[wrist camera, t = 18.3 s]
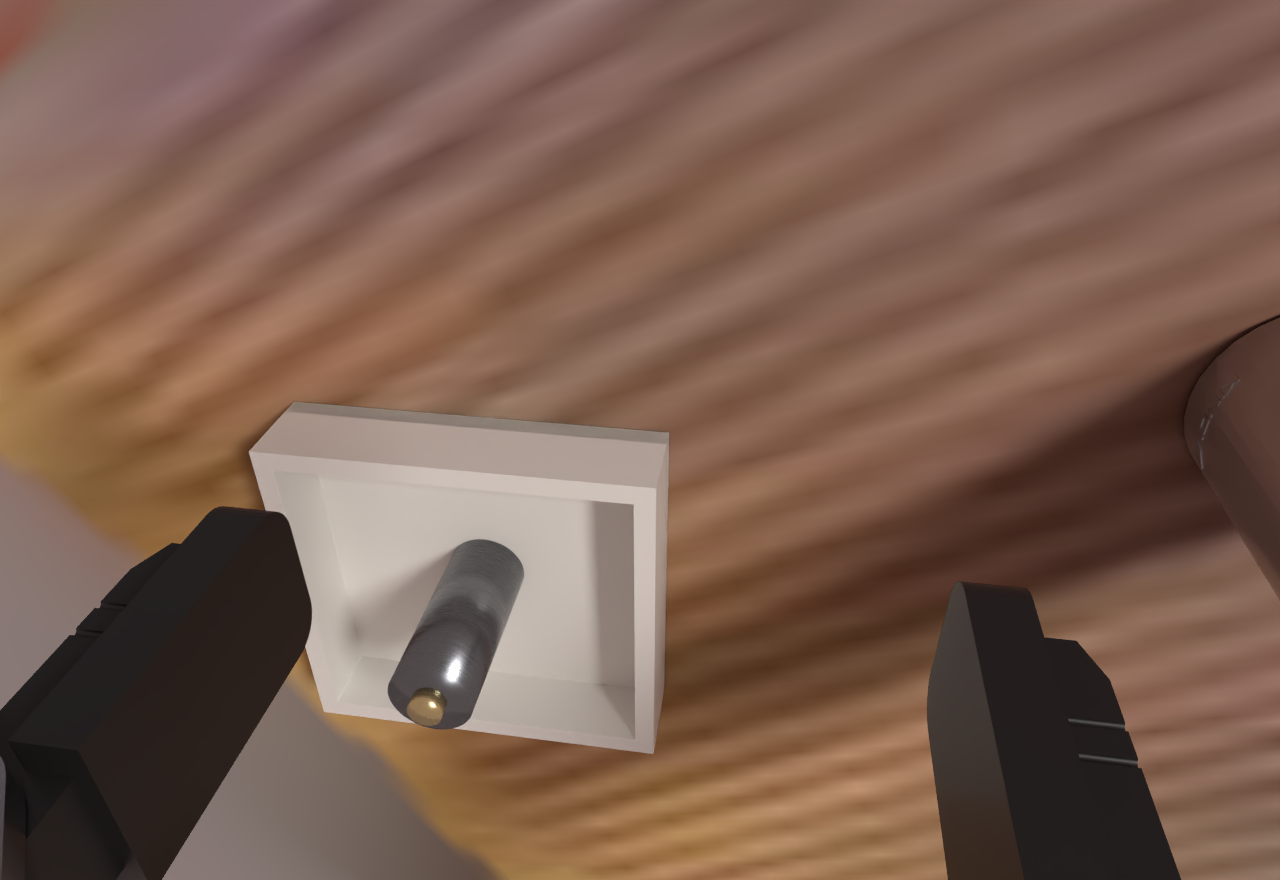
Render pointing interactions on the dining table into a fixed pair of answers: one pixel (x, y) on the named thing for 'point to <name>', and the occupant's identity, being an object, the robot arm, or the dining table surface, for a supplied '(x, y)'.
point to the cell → (457, 636)
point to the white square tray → (492, 510)
